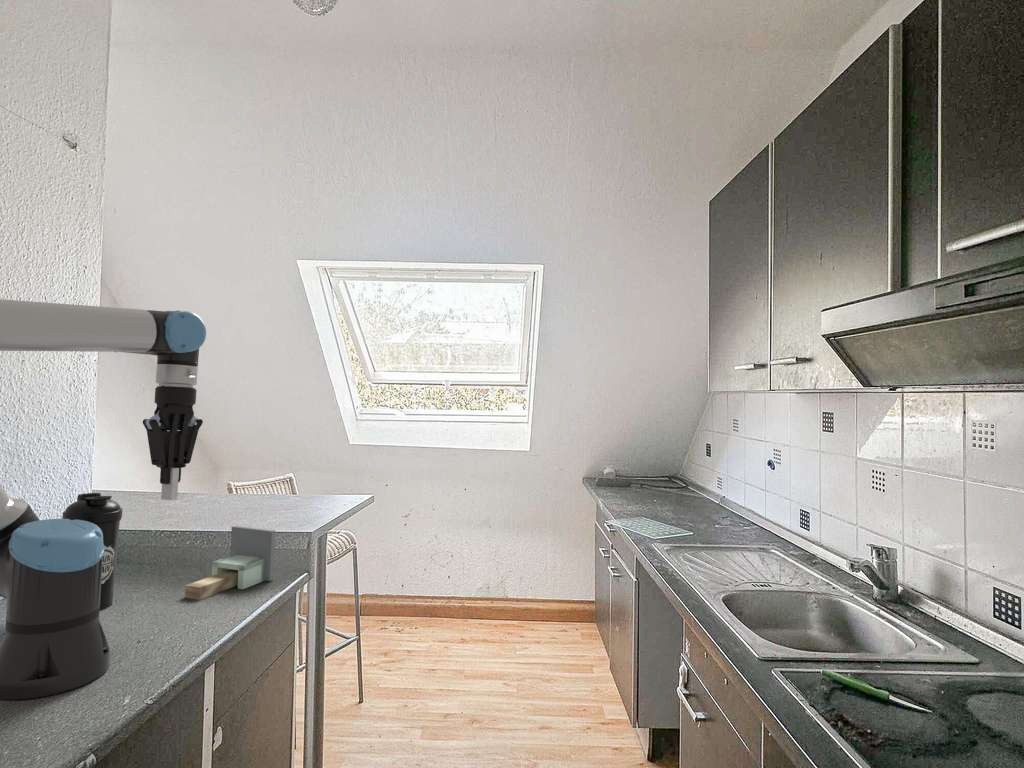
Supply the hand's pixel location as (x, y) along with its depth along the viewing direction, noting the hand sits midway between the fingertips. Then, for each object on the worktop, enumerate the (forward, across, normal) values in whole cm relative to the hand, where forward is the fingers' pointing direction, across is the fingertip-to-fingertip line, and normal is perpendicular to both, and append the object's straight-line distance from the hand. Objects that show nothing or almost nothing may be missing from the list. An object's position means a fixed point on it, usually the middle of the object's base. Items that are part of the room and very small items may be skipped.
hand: (169, 499), depth 122 cm
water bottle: (+23, -4, +15) cm, 28 cm away
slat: (+23, +15, 0) cm, 27 cm away
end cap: (+22, +20, -1) cm, 30 cm away
